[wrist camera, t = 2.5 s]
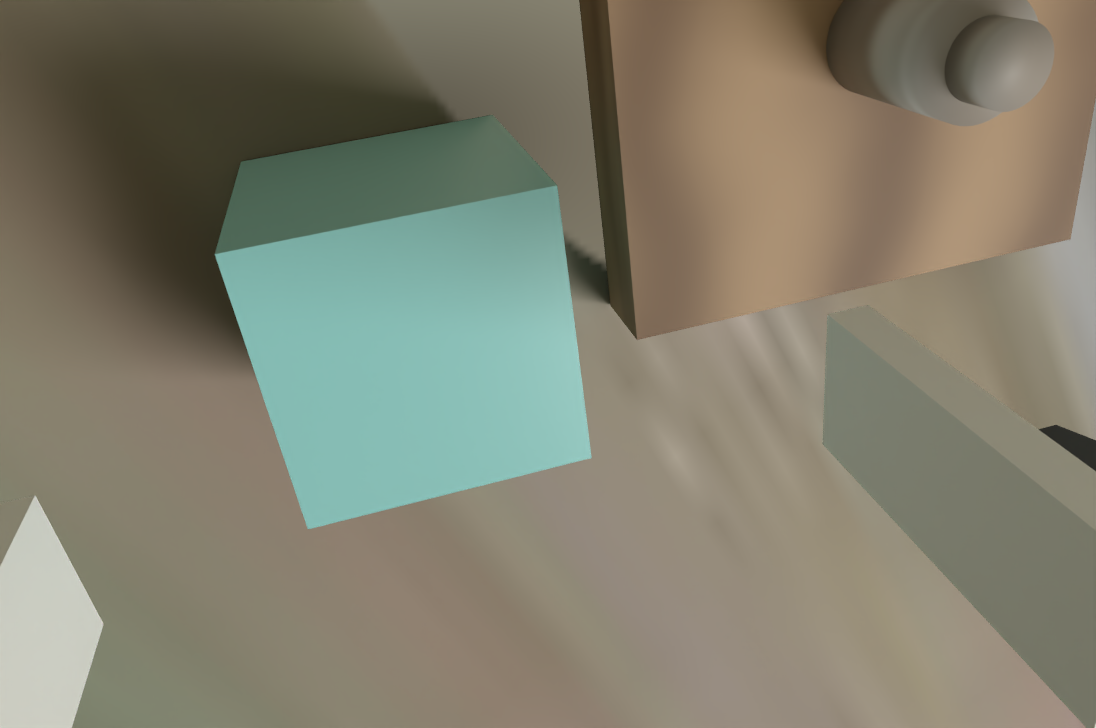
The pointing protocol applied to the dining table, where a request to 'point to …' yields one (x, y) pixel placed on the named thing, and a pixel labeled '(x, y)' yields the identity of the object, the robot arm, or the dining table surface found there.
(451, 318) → the mint green cube
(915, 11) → the stand
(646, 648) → the dining table surface
